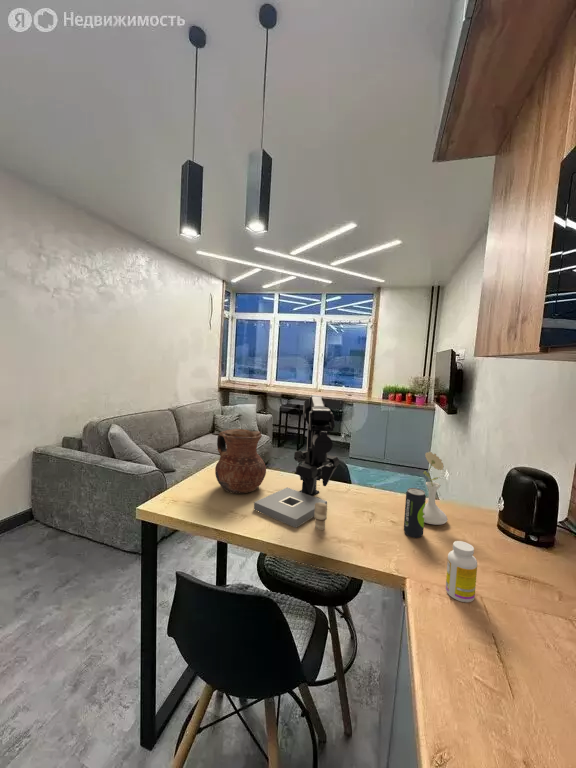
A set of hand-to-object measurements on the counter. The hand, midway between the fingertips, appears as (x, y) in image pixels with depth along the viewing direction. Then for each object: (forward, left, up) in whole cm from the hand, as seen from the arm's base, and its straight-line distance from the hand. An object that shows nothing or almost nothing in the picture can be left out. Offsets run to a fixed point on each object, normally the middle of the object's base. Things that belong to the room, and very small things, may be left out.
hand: (317, 489), depth 116 cm
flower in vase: (-34, +28, -14) cm, 46 cm away
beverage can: (-19, +27, -14) cm, 36 cm away
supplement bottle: (+3, +46, -14) cm, 48 cm away
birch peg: (-1, +1, -13) cm, 13 cm away
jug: (-6, -44, -14) cm, 46 cm away
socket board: (-5, -15, -13) cm, 20 cm away
